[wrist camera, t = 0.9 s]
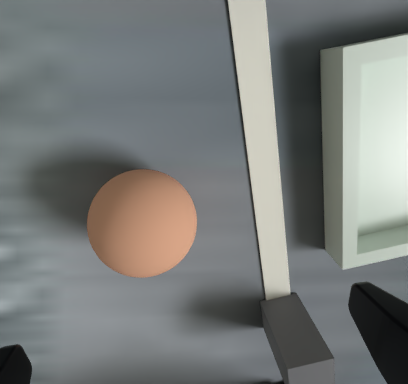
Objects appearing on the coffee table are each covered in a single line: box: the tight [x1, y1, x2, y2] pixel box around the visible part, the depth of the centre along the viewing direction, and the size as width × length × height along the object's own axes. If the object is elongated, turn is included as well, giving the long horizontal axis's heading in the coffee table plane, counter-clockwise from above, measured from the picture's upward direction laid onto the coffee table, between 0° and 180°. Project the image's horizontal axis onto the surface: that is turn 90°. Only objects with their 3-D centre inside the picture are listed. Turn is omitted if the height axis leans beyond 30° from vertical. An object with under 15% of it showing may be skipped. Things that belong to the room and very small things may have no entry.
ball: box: [87, 169, 197, 278], centre depth 17 cm, size 6×6×6 cm
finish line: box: [228, 0, 335, 384], centre depth 17 cm, size 27×3×6 cm, turn 10°
